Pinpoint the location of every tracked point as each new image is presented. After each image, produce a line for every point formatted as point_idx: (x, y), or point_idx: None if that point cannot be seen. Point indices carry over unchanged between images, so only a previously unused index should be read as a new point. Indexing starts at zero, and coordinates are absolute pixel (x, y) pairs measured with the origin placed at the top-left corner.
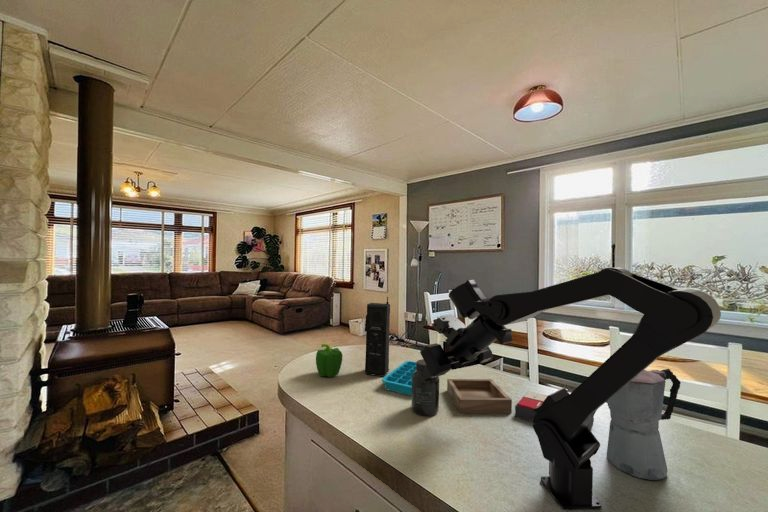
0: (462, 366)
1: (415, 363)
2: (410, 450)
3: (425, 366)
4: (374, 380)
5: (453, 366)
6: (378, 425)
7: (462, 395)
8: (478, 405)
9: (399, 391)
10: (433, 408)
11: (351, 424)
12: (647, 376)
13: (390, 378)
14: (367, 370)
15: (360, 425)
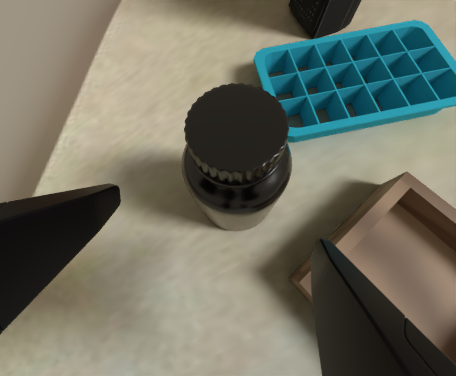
0: (324, 361)
1: (429, 43)
2: None
3: (23, 201)
4: (278, 38)
5: (318, 269)
6: (114, 160)
7: (379, 242)
8: None
9: None
10: (221, 226)
11: (90, 123)
12: None
13: (288, 58)
14: (292, 1)
15: (96, 136)
